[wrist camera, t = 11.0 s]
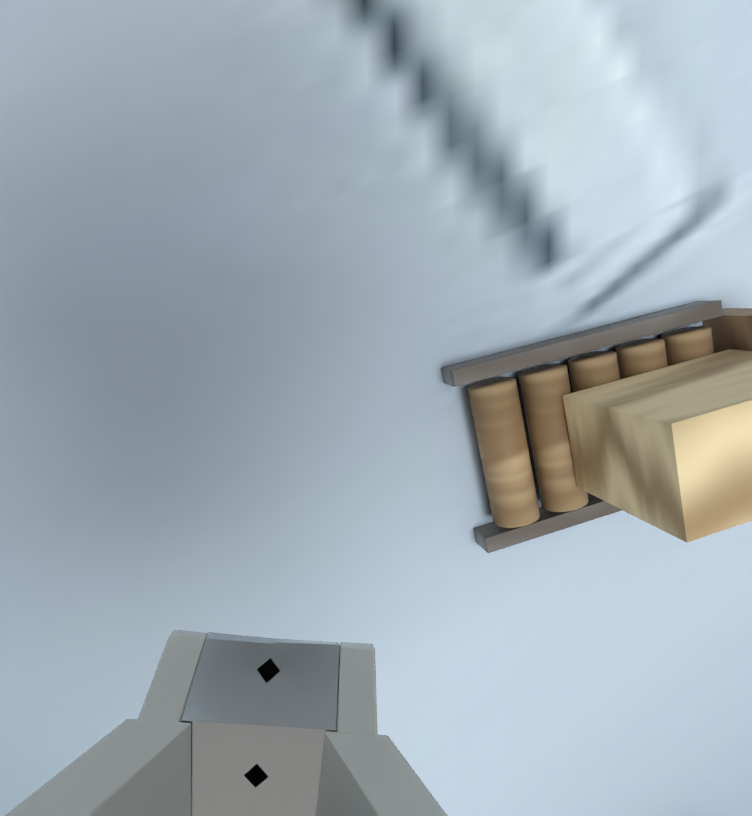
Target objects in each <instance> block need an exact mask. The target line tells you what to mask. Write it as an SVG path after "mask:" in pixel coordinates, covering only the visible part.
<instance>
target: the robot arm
mask: <svg viewBox="0 0 752 816" xmlns="http://www.w3.org/2000/svg"><path fill="white" fill-rule="evenodd" d="M5 816H447V814H446V813H445V812H444V810H443V809H442V808H441V806H440V805H439V804H438V802H437V801H436V800H435V798H434V797H433V796H432V794H431V793H430V792H429V790H428V789H427V788H426V786H425V785H424V784H423V782H422V781H421V780H420V778H419V777H418V775H417V774H416V773H415V771H414V770H413V769H412V767H411V766H410V765H409V763H408V762H407V761H406V759H405V758H404V757H403V755H402V754H401V753H400V751H399V750H398V749H397V747H396V746H395V745H394V743H393V742H392V741H391V739H390V738H389V737H388V736H386V735H377V703H376V670H375V648H374V646H373V644H362V643H344V642H341V643H340V644H339V643H338V642H322V641H306V640H291V639H272V638H262V637H251V636H241V635H231V634H220V633H210V632H209V633H201V632H192V631H182V630H174V631H173V632H172V634H171V635H170V636H169V638H168V641H167V643H166V646H165V648H164V651H163V654H162V656H161V659H160V662H159V664H158V667H157V670H156V672H155V675H154V678H153V680H152V683H151V685H150V688H149V691H148V693H147V696H146V699H145V701H144V704H143V707H142V709H141V712H140V715H139V717H138V720H137V719H126V720H125V721H124V722H123V723H121V724H120V725H119V726H117V727H116V728H115V729H114V730H112V731H111V732H110V733H109V734H107V735H106V736H105V737H104V738H102V739H101V740H100V741H99V742H97V743H96V744H95V745H94V746H92V747H91V748H90V749H88V750H87V751H86V752H85V753H83V754H82V755H81V756H80V757H78V758H77V759H76V760H75V761H73V762H72V763H71V764H70V765H68V766H67V767H66V768H65V769H63V770H62V771H61V772H59V773H58V774H57V775H56V776H54V777H53V778H52V779H51V780H49V781H48V782H47V783H46V784H44V785H43V786H42V787H41V788H39V789H38V790H37V791H36V792H34V793H33V794H32V795H30V796H29V797H28V798H27V799H25V800H24V801H23V802H22V803H20V804H19V805H18V806H17V807H15V808H14V809H13V810H12V811H10V812H9V813H8V814H7V815H5Z"/></svg>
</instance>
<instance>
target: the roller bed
mask: <svg viewBox="0 0 752 816" xmlns="http://www.w3.org/2000/svg"><path fill="white" fill-rule="evenodd" d="M720 316H723V314H722V305H721V301H697V302H693V303H690V304H686V305H682V306H678V307H674V308H670V309H666V310H662V311H659V312H655V313H651V314H647V315H643V316H639V317H635V318H632V319H628V320H624V321H620V322H616V323H612V324H608V325H604V326H601V327H597V328H593V329H589V330H585V331H581V332H577V333H574V334H570V335H566V336H562V337H558V338H554V339H550V340H547V341H543V342H539V343H535V344H531V345H527V346H523V347H519V348H516V349H512V350H508V351H504V352H500V353H496V354H492V355H489V356H485V357H481V358H477V359H473V360H469V361H465V362H461V363H458V364H454V365H450V366H446V367H442V368H441V369H442V374H443V379H444V383H446V384H449V385H452V386H455V387H456V386H460V385H464V384H468V383H471V382H475V381H479V380H483V379H486V378H490V377H494V376H498V375H501V374H505V373H509V372H513V371H516V370H520V369H524V368H528V367H532V366H535V365H539V364H543V363H547V362H550V361H554V360H558V359H562V358H565V357H569V356H573V355H577V354H580V353H584V352H588V351H592V350H596V349H599V348H603V347H607V346H611V345H614V344H618V343H622V342H626V341H629V340H633V339H637V338H641V337H644V336H648V335H652V334H656V333H659V332H663V331H667V330H671V329H675V328H678V327H682V326H686V325H690V324H693V323H697V322H701V321H705V320H708V319H712V318H716V317H720ZM661 338H662V339H643V340H636V341H631V342H627V343H623V344H620V345H618V346H616V347H615V351H616V352H614V351H600V352H592V353H586V354H582V355H578V356H575V357H572V358H570V359H568V367H569V373H570V379H571V386H572V392H573V393H574V392H577V391H581V390H585V389H588V388H592V387H595V386H599V385H603V384H606V383H610V382H613V381H617V380H621V379H624V378H628V377H631V376H635V375H639V374H642V373H646V372H649V371H653V370H657V369H660V368H664V367H667V366H671V365H675V364H678V363H682V362H685V361H689V360H693V359H696V358H700V357H703V356H707V355H711V354H714V349H713V340H712V331H711V327H707V326H698V327H688V328H681V329H676V330H672V331H668V332H665V333H663V334H662V335H661ZM518 375H519V381H520V387H521V392H522V398H523V404H524V409H525V415H526V421H527V426H528V432H529V437H530V443H531V449H532V454H533V460H534V466H535V471H536V477H537V483H538V488H539V494H540V500H541V505H542V507H541V508H539V507H538V501H537V495H536V490H535V484H534V479H533V473H532V467H531V462H530V456H529V450H528V445H527V439H526V434H525V428H524V422H523V417H522V411H521V406H520V400H519V394H518V389H517V383H516V379H515V378H512V377H502V378H494V379H489V380H484V381H480V382H477V383H474V384H472V385H470V386H468V388H467V389H468V394H469V399H470V404H471V409H472V414H473V420H474V425H475V430H476V435H477V440H478V445H479V451H480V456H481V461H482V466H483V471H484V476H485V481H486V487H487V492H488V497H489V502H490V507H491V512H492V518H493V523H489V524H486V525H483V526H480V527H477V528H474V533H475V538H476V542H477V543H478V544H479V545H480V546H481V547H482V548H483V549H484V550H485V551H486V552H488V553H490V552H493V551H496V550H499V549H503V548H506V547H509V546H512V545H515V544H518V543H521V542H524V541H528V540H531V539H534V538H537V537H540V536H543V535H546V534H549V533H552V532H556V531H559V530H562V529H565V528H568V527H571V526H574V525H577V524H580V523H584V522H587V521H590V520H593V519H596V518H599V517H602V516H605V515H609V514H612V513H615V512H618V511H621V509H619V508H617V507H616V506H614V505H612V504H610V503H608V502H606V501H604V500H602V499H600V498H598V497H596V496H594V495H592V494H590V493H587V492H586V491H584V490H582V489H580V488H578V487H577V481H576V475H575V469H574V463H573V457H572V451H571V445H570V438H569V432H568V426H567V420H566V414H565V408H564V402H563V395H567V394H570V393H571V389H570V382H569V376H568V370H567V365H565V364H550V365H543V366H537V367H533V368H529V369H526V370H523V371H521V372H520V373H519V374H518Z"/></svg>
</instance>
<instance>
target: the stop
mask: <svg viewBox="0 0 752 816" xmlns="http://www.w3.org/2000/svg"><path fill="white" fill-rule="evenodd" d="M722 314H723V316H720V317H716V318H712V319H708V320H705V321H703V324H704V326H707V327H711V331H712V340H713V349H714V353H718V352H721V351H725V350H729V349H731V350H743V351H752V309H735V308H727V309H723V310H722Z"/></svg>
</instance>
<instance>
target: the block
mask: <svg viewBox="0 0 752 816" xmlns="http://www.w3.org/2000/svg"><path fill="white" fill-rule="evenodd" d="M563 402H564V408H565V414H566V420H567V426H568V432H569V438H570V445H571V451H572V457H573V463H574V469H575V475H576V481H577V487H578V488H580V489H582V490H584V491H586V492H588V493H590V494H592V495H594V496H596V497H598V498H600V499H602V500H604V501H606V502H608V503H610V504H612V505H614V506H616V507H617V508H619V509H621V510H623V511H625V512H627V513H629V514H631V515H633V516H635V517H637V518H639V519H641V520H643V521H645V522H647V523H649V524H651V525H653V526H655V527H657V528H659V529H661V530H663V531H665V532H667V533H669V534H671V535H673V536H675V537H677V538H679V539H681V540H683V541H685V542H690V541H693V540H696V539H699V538H701V537H704V536H707V535H710V534H713V533H716V532H719V531H722V530H725V529H728V528H731V527H734V526H737V525H740V524H743V523H746V522H749V521H752V351H743V350H731V349H729V350H725V351H721V352H718V353H714V354H711V355H707V356H703V357H700V358H696V359H693V360H689V361H685V362H682V363H678V364H675V365H671V366H667V367H664V368H660V369H657V370H653V371H649V372H646V373H642V374H639V375H635V376H631V377H628V378H624V379H621V380H617V381H613V382H610V383H606V384H603V385H599V386H595V387H592V388H588V389H585V390H581V391H577V392H574V393H570V394H567V395H563Z"/></svg>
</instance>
